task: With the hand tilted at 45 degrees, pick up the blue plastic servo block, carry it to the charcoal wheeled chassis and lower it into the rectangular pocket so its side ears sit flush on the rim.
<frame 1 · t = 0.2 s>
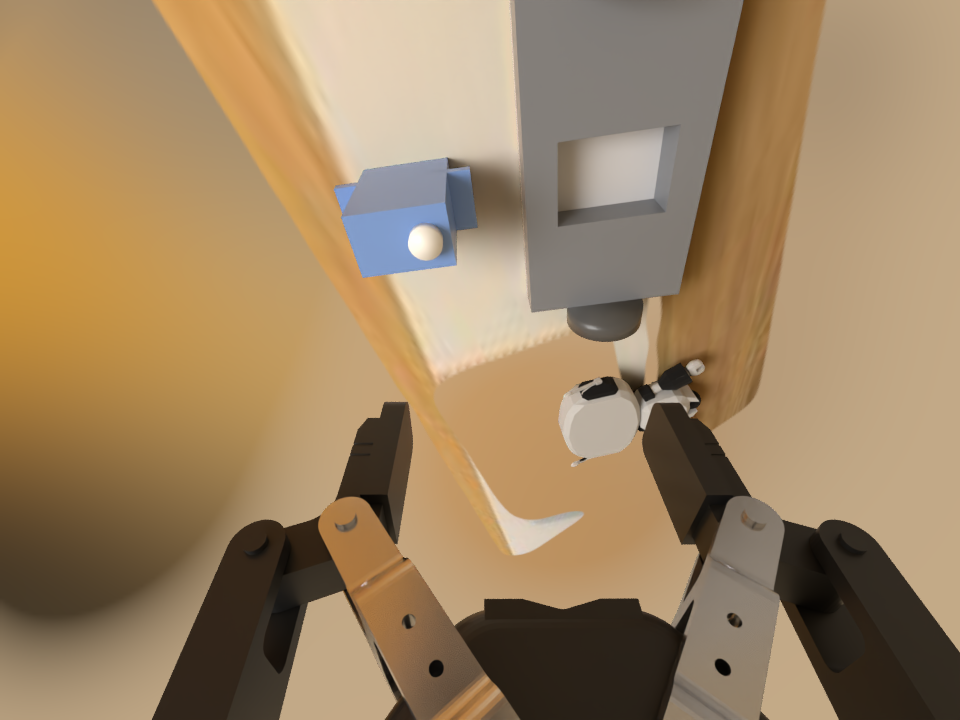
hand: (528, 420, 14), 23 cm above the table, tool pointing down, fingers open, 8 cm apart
servo: (412, 192, 31), on the table
robot toy: (621, 394, 48), on the table
chassis: (603, 164, 31), on the table
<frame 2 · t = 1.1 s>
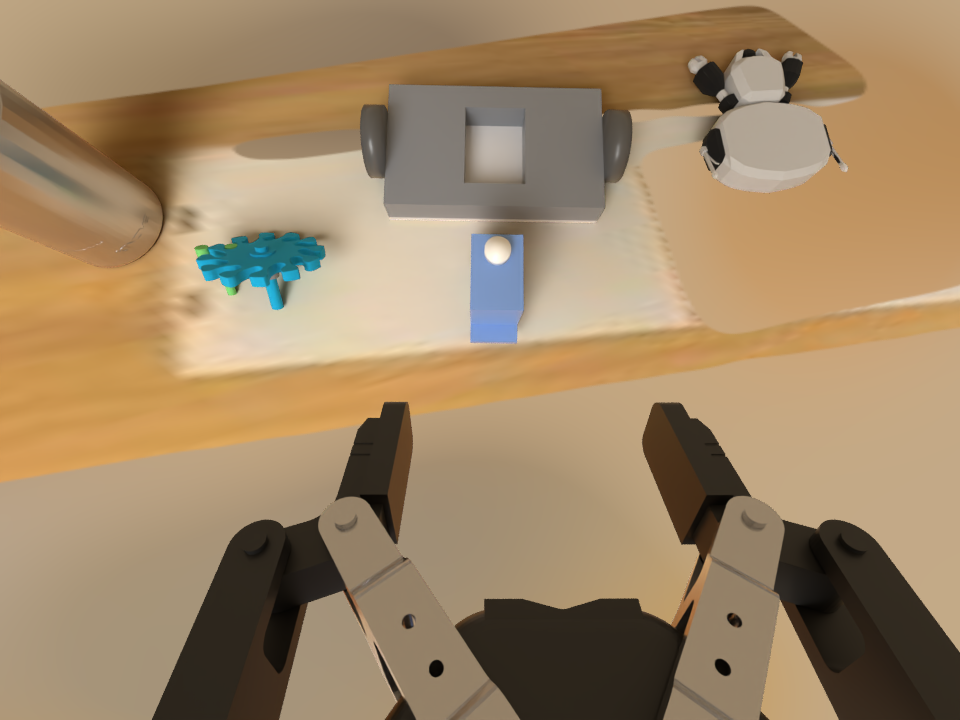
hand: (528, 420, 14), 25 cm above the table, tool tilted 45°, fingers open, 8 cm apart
servo: (492, 301, 40), on the table
robot toy: (740, 136, 44), on the table
gear: (278, 273, 41), on the table
chassis: (493, 164, 42), on the table
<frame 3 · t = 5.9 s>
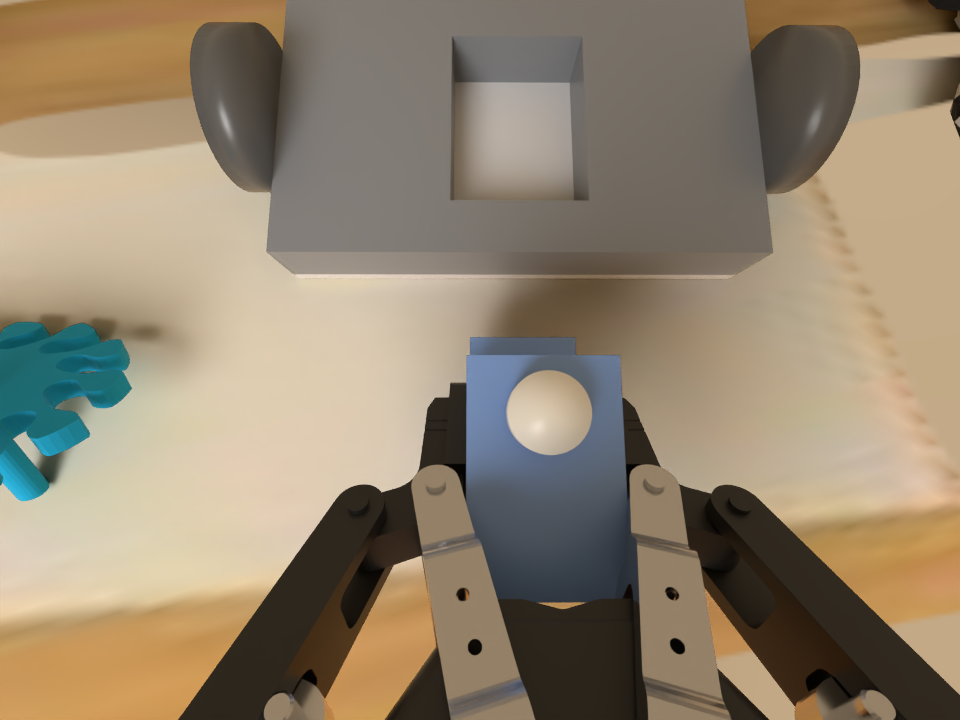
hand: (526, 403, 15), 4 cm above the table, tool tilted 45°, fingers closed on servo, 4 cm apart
servo: (516, 453, 19), on the table, touching gripper
gear: (54, 407, 19), on the table
chassis: (512, 160, 21), on the table
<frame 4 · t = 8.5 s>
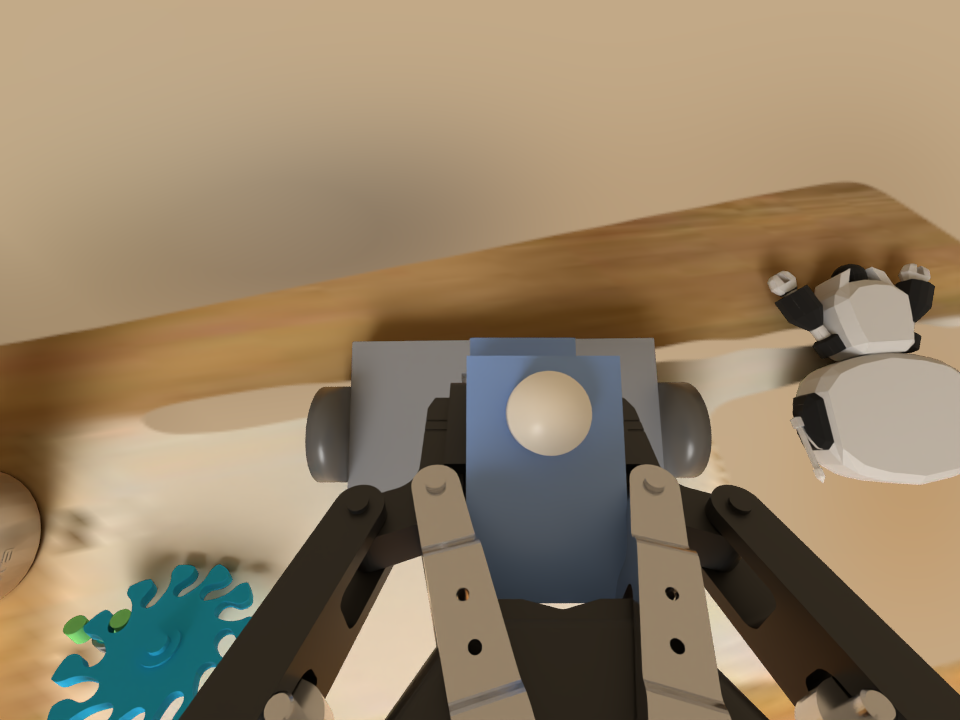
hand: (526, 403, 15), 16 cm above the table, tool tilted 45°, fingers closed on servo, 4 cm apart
servo: (516, 453, 19), point 12 cm above the table, touching gripper
robot toy: (839, 373, 31), on the table
gear: (199, 618, 29), on the table
chassis: (502, 431, 30), on the table
when the fingers open (6 cm above the table, at t = 11.5 s): servo stays where it is, resting on chassis.
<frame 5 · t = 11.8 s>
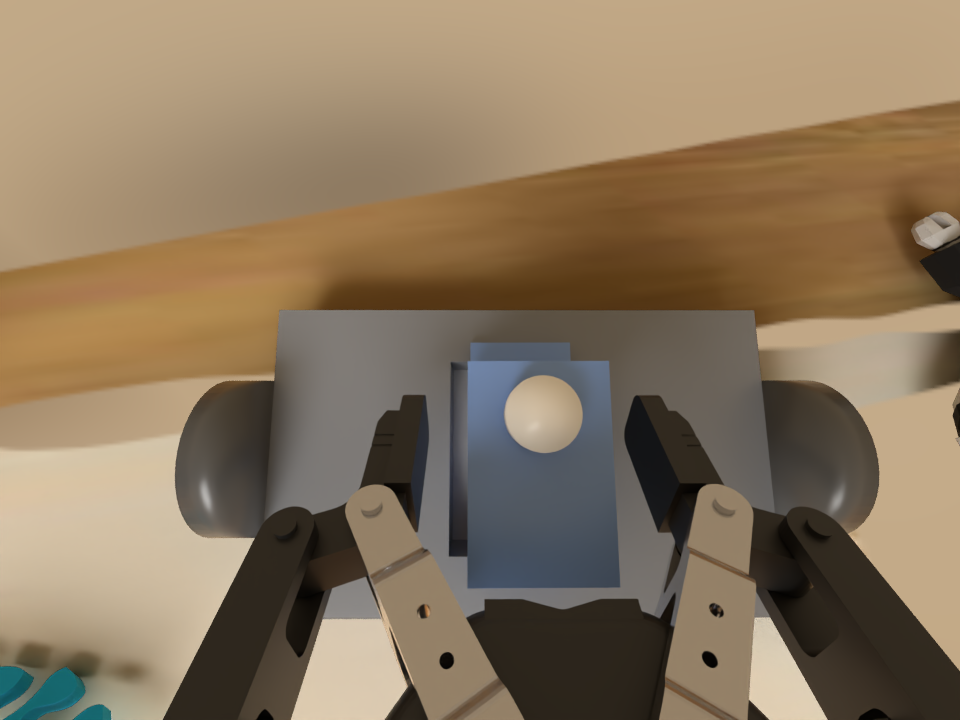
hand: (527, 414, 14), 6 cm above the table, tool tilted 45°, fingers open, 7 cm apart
servo: (515, 452, 19), resting on chassis
chassis: (513, 451, 20), on the table
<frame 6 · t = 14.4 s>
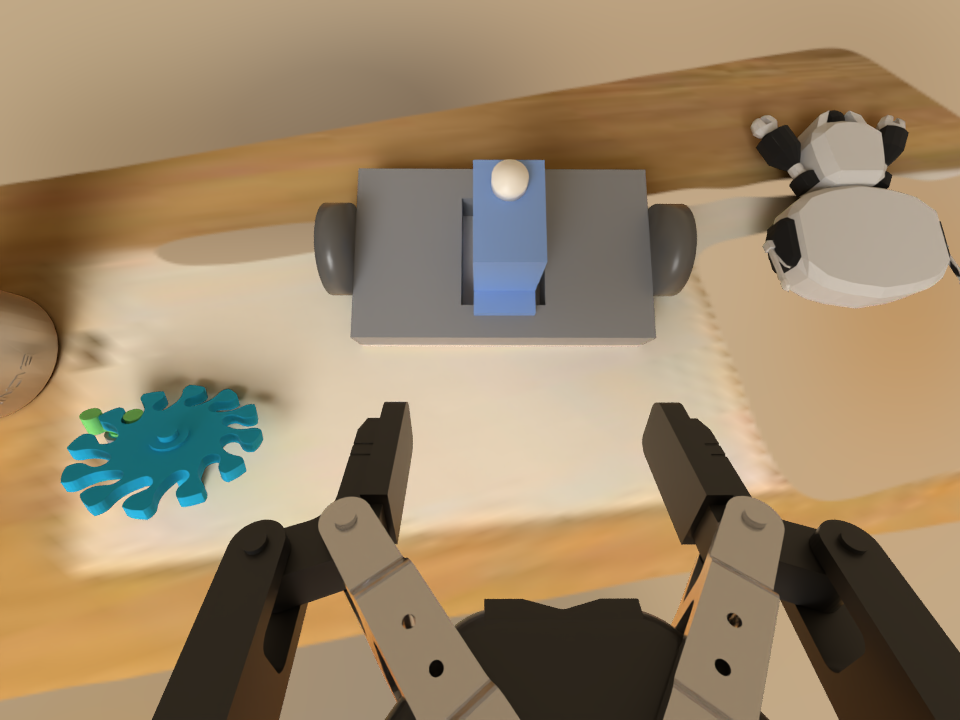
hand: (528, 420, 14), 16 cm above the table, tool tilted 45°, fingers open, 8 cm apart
servo: (501, 264, 31), resting on chassis
robot toy: (815, 222, 33), on the table
gear: (204, 439, 30), on the table
chassis: (500, 267, 32), on the table
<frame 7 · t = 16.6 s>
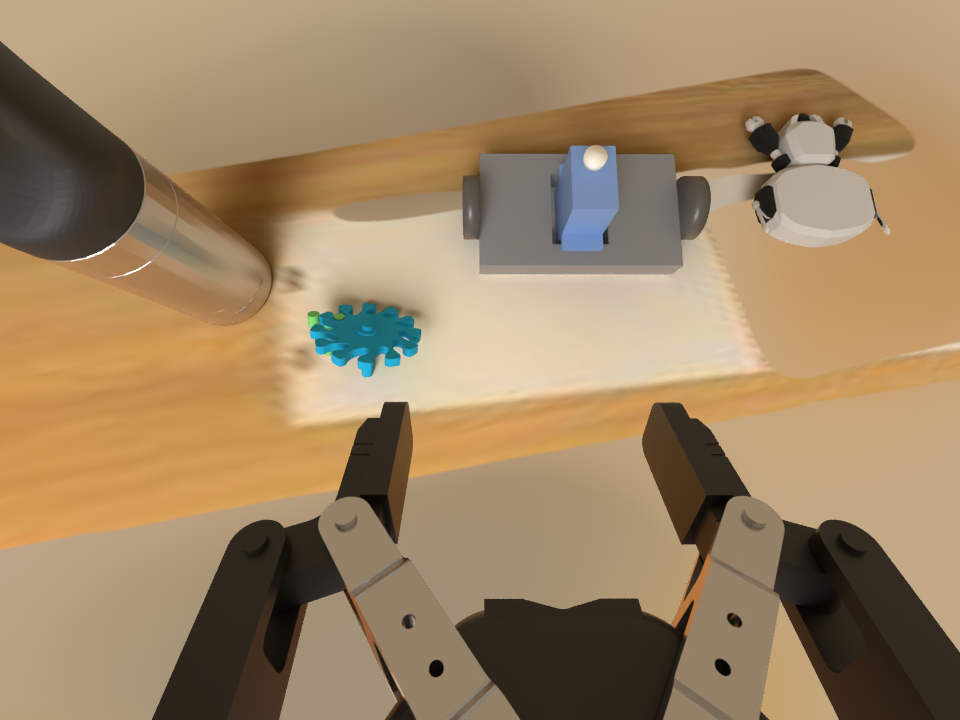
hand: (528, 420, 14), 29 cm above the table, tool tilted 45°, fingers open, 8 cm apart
servo: (574, 220, 45), resting on chassis
robot toy: (789, 192, 47), on the table
gear: (372, 341, 44), on the table
chassis: (572, 222, 46), on the table
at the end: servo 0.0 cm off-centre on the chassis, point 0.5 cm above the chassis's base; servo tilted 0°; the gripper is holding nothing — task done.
